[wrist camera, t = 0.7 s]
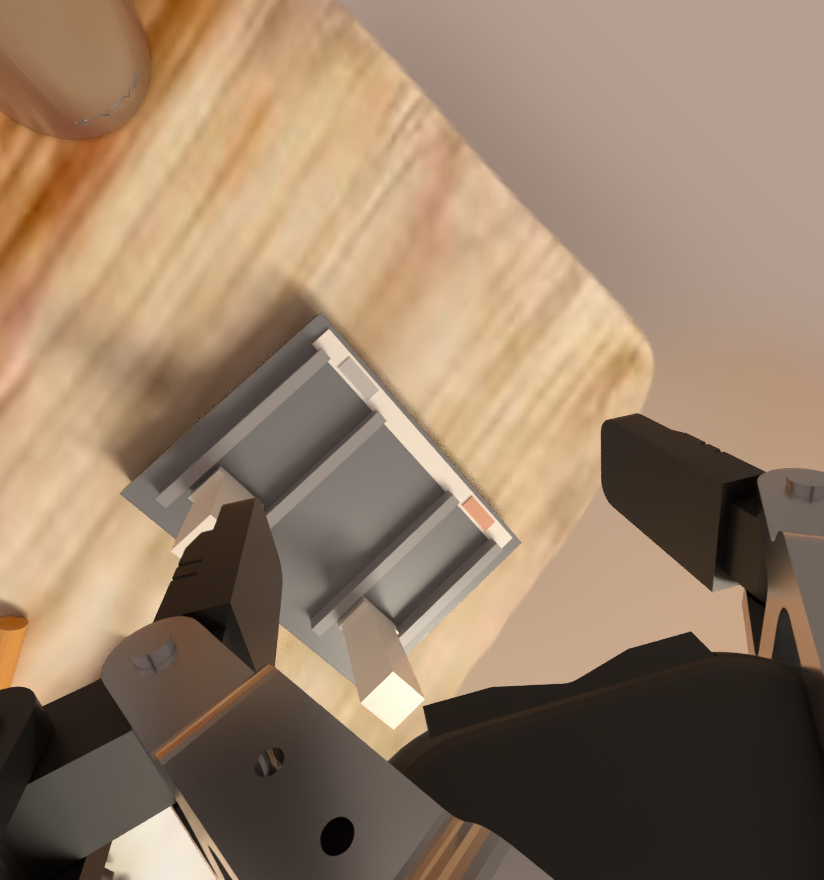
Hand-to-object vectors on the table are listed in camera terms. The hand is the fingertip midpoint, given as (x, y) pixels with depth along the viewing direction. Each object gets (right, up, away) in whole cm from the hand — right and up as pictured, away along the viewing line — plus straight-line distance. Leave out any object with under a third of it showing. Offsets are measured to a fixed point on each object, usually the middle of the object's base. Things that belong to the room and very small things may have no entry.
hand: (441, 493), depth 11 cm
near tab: (-12, -2, +19) cm, 23 cm away
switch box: (-6, -4, +24) cm, 25 cm away
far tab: (-4, -12, +23) cm, 26 cm away
